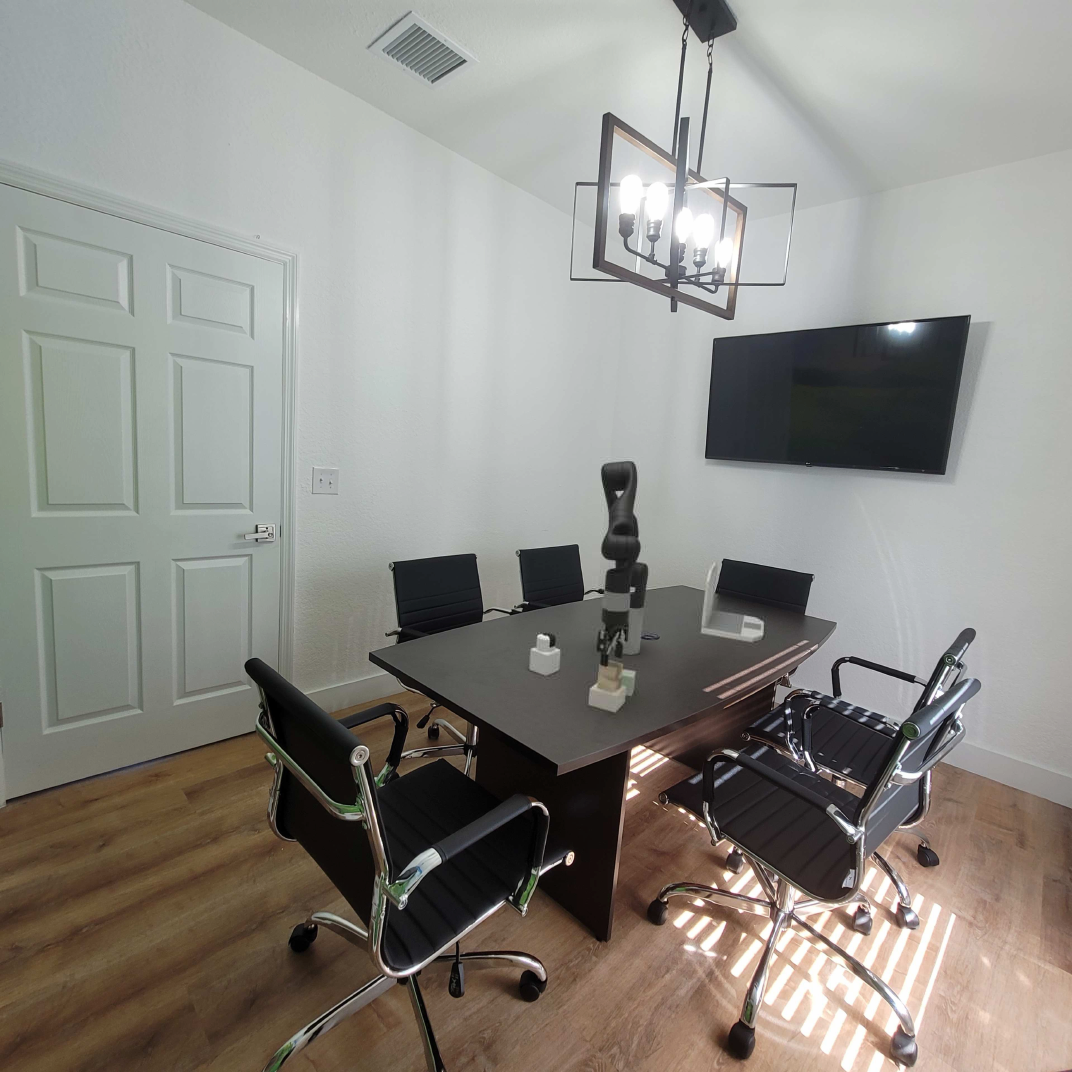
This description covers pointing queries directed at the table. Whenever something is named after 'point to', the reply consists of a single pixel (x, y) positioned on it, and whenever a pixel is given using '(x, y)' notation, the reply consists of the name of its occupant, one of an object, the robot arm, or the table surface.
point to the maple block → (610, 676)
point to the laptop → (727, 617)
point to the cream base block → (607, 698)
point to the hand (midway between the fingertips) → (611, 661)
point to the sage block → (628, 681)
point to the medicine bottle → (545, 655)
